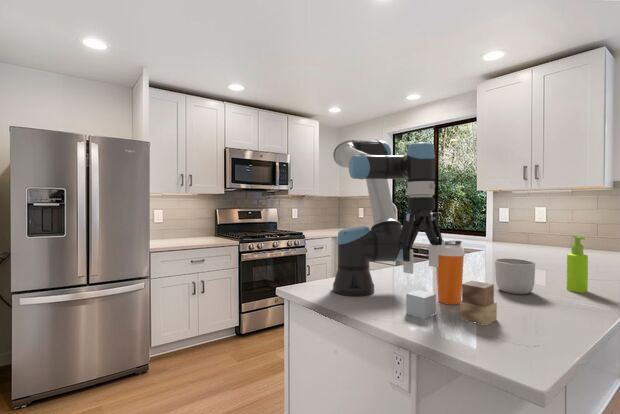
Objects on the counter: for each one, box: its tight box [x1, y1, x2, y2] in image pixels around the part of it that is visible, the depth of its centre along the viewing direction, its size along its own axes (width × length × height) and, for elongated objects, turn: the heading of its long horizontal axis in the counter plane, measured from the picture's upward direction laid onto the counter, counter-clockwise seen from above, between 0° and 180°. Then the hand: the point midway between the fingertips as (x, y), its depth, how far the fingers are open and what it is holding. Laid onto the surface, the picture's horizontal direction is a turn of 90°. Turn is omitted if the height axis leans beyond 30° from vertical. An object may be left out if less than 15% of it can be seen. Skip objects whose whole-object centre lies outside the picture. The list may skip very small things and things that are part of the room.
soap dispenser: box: [566, 235, 589, 294], centre depth 120 cm, size 6×7×20 cm
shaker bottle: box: [435, 239, 465, 305], centre depth 109 cm, size 9×9×20 cm
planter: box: [494, 257, 536, 295], centre depth 120 cm, size 12×12×11 cm
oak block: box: [459, 300, 498, 326], centre depth 93 cm, size 7×7×5 cm
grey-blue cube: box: [405, 289, 437, 320], centre depth 97 cm, size 6×6×6 cm
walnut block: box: [461, 280, 495, 307], centre depth 93 cm, size 6×6×5 cm
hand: (421, 269), depth 97 cm, fingers open, 13 cm apart
